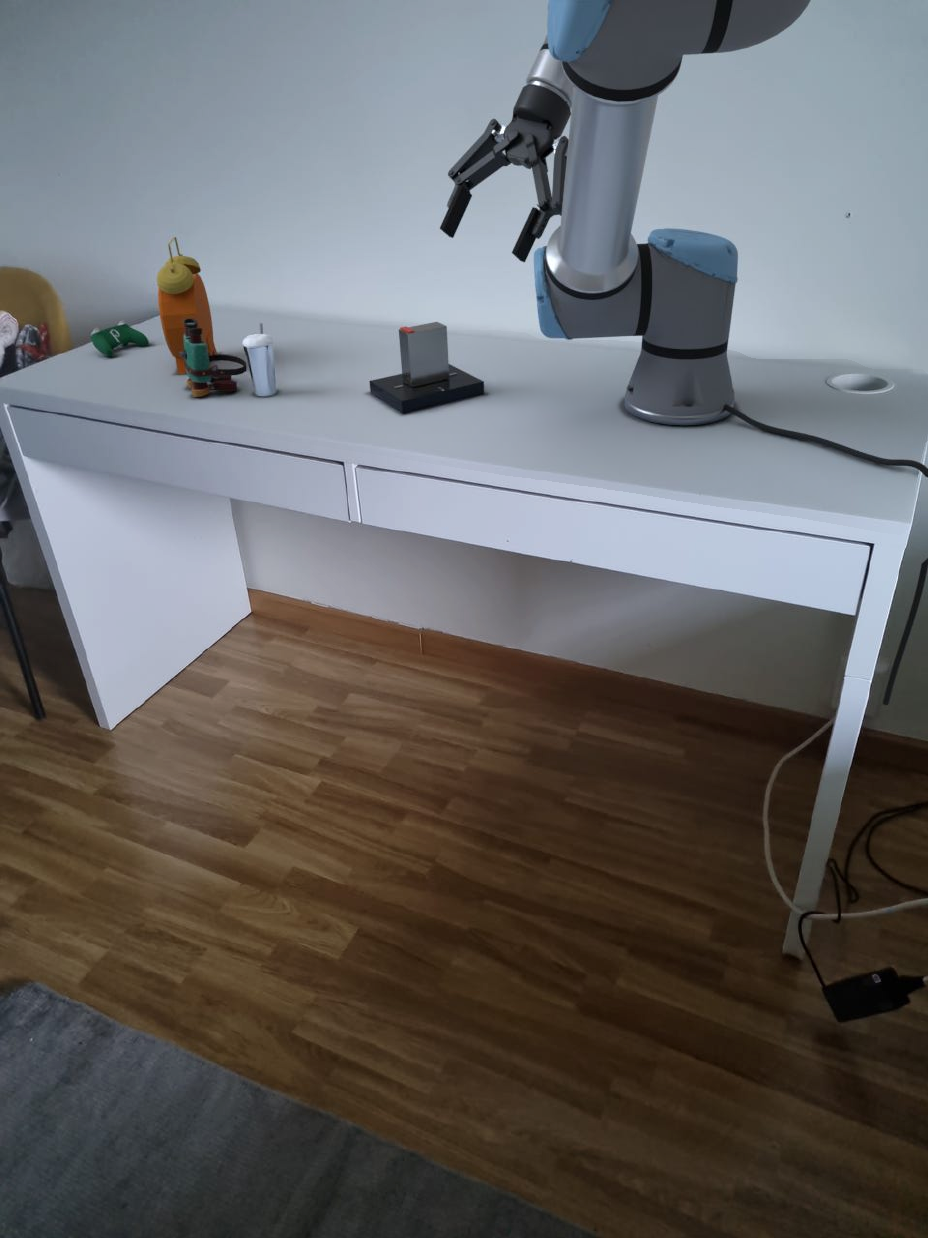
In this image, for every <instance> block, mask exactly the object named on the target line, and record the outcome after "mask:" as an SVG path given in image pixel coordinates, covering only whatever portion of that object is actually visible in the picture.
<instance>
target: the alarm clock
mask: <svg viewBox="0 0 928 1238" xmlns="http://www.w3.org/2000/svg"><path fill="white" fill-rule="evenodd" d="M173 241H174V243H175V246H176V252H177V255H176V256H173V252H172V247H171V244H172V242H173ZM178 244H179V243H178V240H177V236H174V237H173V238H172V239H171V240H170V241H169V242H168V244H167V246H168V252H169V256H170V258H168V259H167V261H166V262H165V264H164V266H162V267H161V268H160V270H159V271H158V272H157V275H156V283H157V287H158V291H157V297H158V298H157V299H158V301H157V303H158V310H159V312H158V313H159V318H160V323H161V328H162V332H163V336H164V339H165V342H166V345H167V347H168V348H167V349H168V350H169V352H170V354H171V355H172V357H173V358H174V359H175V365H176V371H177V375H188V374H187V372H186V367H185V365H184V360H185V359H184V358H182V357H180V356H179V352H180V351H184V334H185V333H186V329H185V327H184V325H183V320H184V319H187V318H192V319H195V320H197V327H196V328H202V334H201V340H203V341H204V342H205V343H206V344H207V349H208V352H209V355H214V354H218V352H217V348H216V345H215V342H214V341H215V340H214V330H213V319H212V313H211V308H210V302H209V297H208V293H207V291H206V287H205V284H204V281H203V279H202V277H201V275H200V273H201V271H202V269H201V266H200V264H199V262H198V261H197V260H196V259H195V258H193V257H191V256H187V255H184V254H182V253H181V252H180V248H179V245H178ZM211 366H212V362H210V368H211Z"/></svg>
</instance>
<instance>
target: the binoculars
mask: <svg viewBox="0 0 928 1238" xmlns="http://www.w3.org/2000/svg"><path fill="white" fill-rule="evenodd" d="M183 325H184V327H185V329H186V333H185V334H184V351H180V352H179V356H180V357H182V358H184V359H185V360H184V365H185V367H186V372H187V374H186V375H187V376H188V379H186V382H187V388H189V389H191V395H192V397H194V398H200V397H204V396H206V395H208V394H209V393H211V392H212V391H219V392H236V391H238V382H237V381H235V380H232V376H239V375H242V374H244V373H246V372H247V371H248V370H247V369H248V367H247V365H248V364H247V361H246V360H245V359H243V358H242V357H239V356H236V355H232V354H222V353H219V354H218V353H217V354H214V355H209V352H208V349H207V344H206V343H205V342H204V341H203V340H201V334H202V328H196V327H197V320H195V319H192V318H187V319H184V320H183ZM220 361H222V362H230V363H236V364H239V365H241V367H237V368H219V367H218V365H217V364H214V365H211V368H210V362H211V363H212V362H220ZM213 368H215V369H214V370H213ZM208 383H211V384H213V388H212V386H211V385H210V384H208Z"/></svg>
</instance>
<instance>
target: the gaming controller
mask: <svg viewBox="0 0 928 1238" xmlns="http://www.w3.org/2000/svg"><path fill="white" fill-rule="evenodd" d="M90 340H91V342H92V345H93V346H94V348H95V349H96V350H98V352H100V353H101V354H102V355H104V356H106V357H108V358H112V357H113V356H114V351H113V350H115V349H116V348H119V347H127V346H128V345H129V344H134V345H137V346H142V347H146V346H148V345H149V343H150V341H149V339H148V337H147V336H146V335H145V334H144V333H143V332H141V331H139V330H137V329H135V328H133V327H131V326H130V325H128V324H127V323H126V322H125V320H124V319H121V320H120V321H119V322H118V324H117V325H114V326H112V327H107V328H105V329H104V328H103V329H101V330H100V329H99V327H95V328H94V329H93V330H92V332H91V334H90Z"/></svg>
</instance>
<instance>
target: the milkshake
mask: <svg viewBox="0 0 928 1238" xmlns="http://www.w3.org/2000/svg"><path fill="white" fill-rule="evenodd" d="M241 343H242V348H243V351H244V354H245V358H246V363H247V365H248V369H249V374H250V376H251V377H250V378H251V382H252V386H253V391H254V394H255V395H256V396H258V397H264V398H265V397H271V396H274V395H275V394H276V393H277V379H276V369H275V367H276V365H275V357H274V356H275V355H274V339H273V337H271V336H270V335H269V334H266V333H264V325H263V323H262V322H260V323H259V333H255V334H248V335H247V336H246V337H244V339H243V340H242V341H241Z"/></svg>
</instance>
